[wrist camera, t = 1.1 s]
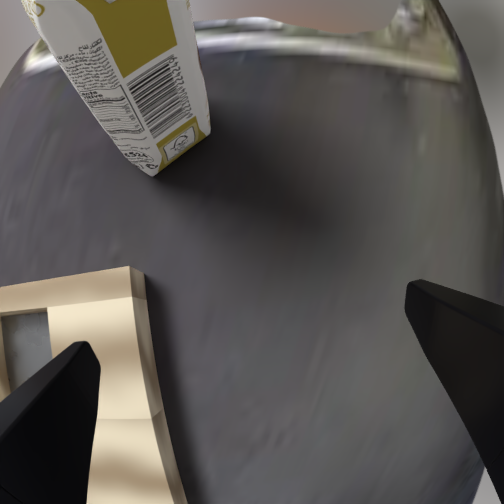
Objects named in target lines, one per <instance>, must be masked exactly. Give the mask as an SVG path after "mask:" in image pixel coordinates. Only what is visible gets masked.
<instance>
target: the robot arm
mask: <svg viewBox="0 0 504 504" xmlns="http://www.w3.org/2000/svg"><path fill="white" fill-rule="evenodd" d="M405 313H406V316H407V318H408V320H409V322H410V324H411V326H412V328H413V330H414V332H415V334H416V337H417V339H418V341H419V343H420V345H421V347H422V349H423V351H424V353H425V355H426V357H427V359H428V361H429V362H430V364H431V366H432V367H433V369H434V371H435V373H436V374H437V376H438V378H439V379H440V381H441V383H442V385H443V386H444V388H445V390H446V392H447V393H448V395H449V397H450V399H451V401H452V402H453V404H454V406H455V408H456V410H457V412H458V413H459V415H460V417H461V419H462V421H463V423H464V425H465V427H466V429H467V430H468V432H469V434H470V436H471V438H472V440H473V442H474V444H475V446H476V448H477V450H478V452H479V454H480V457H481V459H482V461H483V463H484V465H485V467H486V469H487V472H488V474H489V476H490V478H491V481H492V483H493V485H494V487H495V490H496V492H497V494H498V497H499V499H500V501H501V504H504V306H502V305H499V304H496V303H493V302H490V301H487V300H484V299H481V298H478V297H475V296H472V295H469V294H466V293H463V292H460V291H457V290H454V289H450V288H447V287H444V286H441V285H438V284H435V283H432V282H429V281H426V280H422V279H419V280H415V281H411V282H409V283H408V285H407V289H406V298H405ZM100 376H101V365H100V362H99V360H98V358H97V356H96V355H95V353H94V351H93V349H92V347H91V345H90V343H89V342H87V341H76V342H73V343H72V344H71V345H70V346H68V347H67V348H66V349H65V350H63V351H62V352H61V353H60V354H58V355H57V356H56V357H55V358H53V359H52V360H51V361H50V362H48V363H47V364H46V365H45V366H43V367H42V368H41V369H40V370H38V371H37V372H36V373H35V374H34V375H32V376H31V377H30V378H29V379H27V380H26V381H25V382H24V383H23V384H21V385H20V386H19V387H18V388H17V389H15V390H14V391H13V392H12V393H11V394H9V395H8V396H7V397H6V398H5V399H3V400H2V401H1V402H0V504H87V494H88V483H89V473H90V464H91V456H92V448H93V441H94V434H95V428H96V422H97V414H98V402H99V388H100Z"/></svg>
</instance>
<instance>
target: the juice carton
mask: <svg viewBox="0 0 504 504" xmlns="http://www.w3.org/2000/svg"><path fill="white" fill-rule="evenodd" d="M21 1H22V3H23V6H24V9H25V11H26V13H27V15H28V16H29V18H30V19H31V21H32V22H33V24H34V26H35V28H36V29H37V31H38V32H39V34H40V36H41V37H42V39H43V40H44V42H45V44H46V45H47V47H48V48H49V50H50V51H51V53H52V54H53V56H54V57H55V59H56V60H57V62H58V63H59V65H60V67H61V68H62V70H63V71H64V73H65V74H66V76H67V77H68V79H69V80H70V81H71V83H72V84H73V86H74V87H75V89H76V90H77V92H78V93H79V95H80V96H81V98H82V99H83V101H84V102H85V103H86V105H87V106H88V108H89V109H90V111H91V112H92V113H93V115H94V116H95V118H96V119H97V120H98V122H99V123H100V125H101V126H102V127H103V129H104V130H105V131H106V132H107V133H108V134H109V136H110V137H111V139H112V140H113V141H114V143H115V144H116V145H117V147H118V148H119V149H120V151H121V152H122V153H123V155H124V156H125V157H126V158H127V159H128V160H129V161H130V162H131V163H132V164H134V165H135V166H137V167H138V168H139V169H141V170H142V171H144V172H145V173H147V174H148V175H150V176H152V177H153V176H154V175H156V174H157V173H159V172H160V171H161V170H162V169H164V168H165V167H166V166H167V165H169V164H170V163H171V162H173V161H174V160H175V159H177V158H178V157H179V156H181V155H182V154H183V153H185V152H186V151H187V150H189V149H190V148H191V147H193V146H194V145H195V144H197V143H198V142H199V141H201V140H202V139H204V138H205V137H206V136H208V135H209V134H210V130H211V127H210V116H209V106H208V99H207V94H206V89H205V83H204V78H203V73H202V68H201V63H200V57H199V52H198V47H197V41H196V36H195V31H194V25H193V20H192V14H191V9H190V3H189V0H21Z"/></svg>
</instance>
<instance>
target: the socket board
mask: <svg viewBox="0 0 504 504" xmlns="http://www.w3.org/2000/svg"><path fill="white" fill-rule="evenodd" d="M76 341H87V342H89V343H90V345H91V347H92V349H93V351H94V353H95V355H96V356H97V358H98V360H99V362H100V365H101V376H100V388H99V402H98V414H97V422H96V428H95V434H94V441H93V448H92V456H91V464H90V473H89V483H88V494H87V504H188V503H187V500H186V496H185V493H184V489H183V486H182V482H181V479H180V475H179V471H178V467H177V464H176V460H175V456H174V452H173V448H172V443H171V439H170V435H169V430H168V426H167V421H166V417H165V412H164V407H163V402H162V397H161V392H160V386H159V381H158V375H157V369H156V364H155V357H154V351H153V344H152V338H151V331H150V323H149V315H148V307H147V299H146V290H145V280H144V273H142V272H140V271H138V270H136V269H134V268H132V267H130V266H127V267H121V268H114V269H108V270H102V271H96V272H90V273H84V274H77V275H71V276H65V277H59V278H53V279H47V280H41V281H35V282H29V283H23V284H17V285H11V286H5V287H0V402H1V401H2V400H3V399H5V398H6V397H7V396H8V395H9V394H11V393H12V392H13V391H14V390H15V389H17V388H18V387H19V386H20V385H21V384H23V383H24V382H25V381H26V380H27V379H29V378H30V377H31V376H32V375H34V374H35V373H36V372H37V371H38V370H40V369H41V368H42V367H43V366H45V365H46V364H47V363H48V362H50V361H51V360H52V359H53V358H55V357H56V356H57V355H58V354H60V353H61V352H62V351H63V350H65V349H66V348H67V347H68V346H70V345H71V344H72V343H73V342H76Z"/></svg>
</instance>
